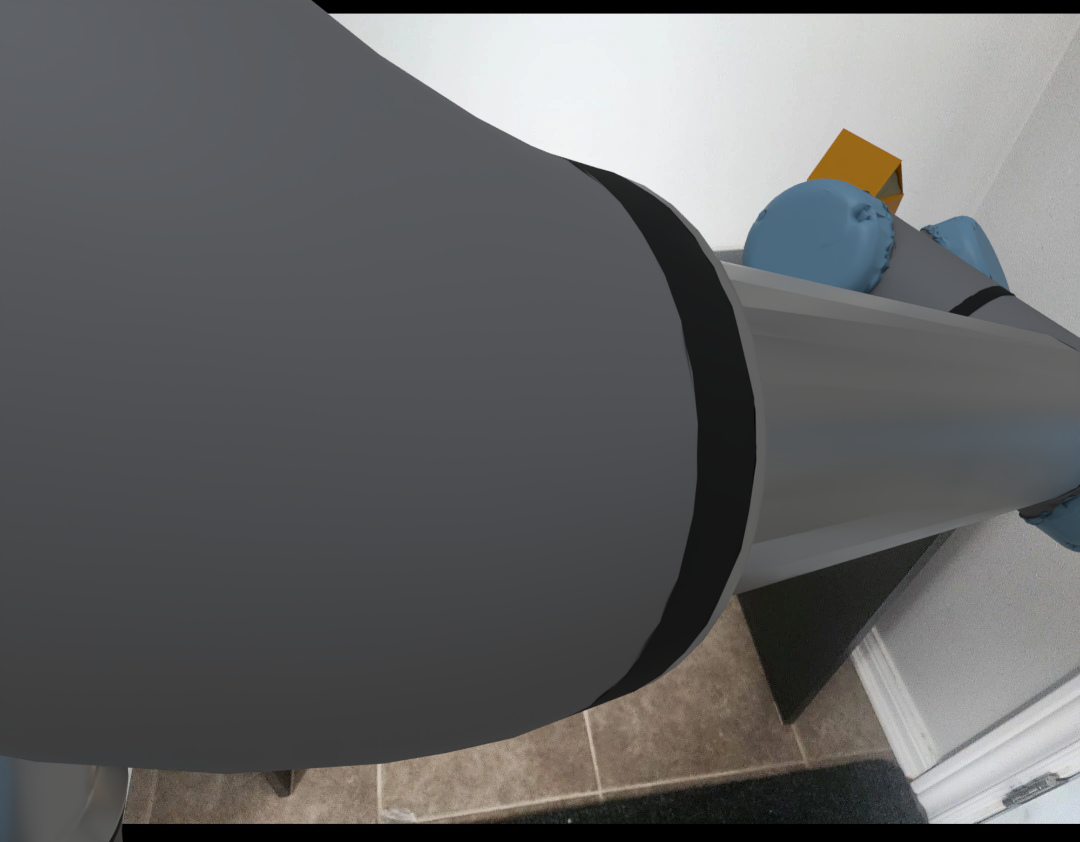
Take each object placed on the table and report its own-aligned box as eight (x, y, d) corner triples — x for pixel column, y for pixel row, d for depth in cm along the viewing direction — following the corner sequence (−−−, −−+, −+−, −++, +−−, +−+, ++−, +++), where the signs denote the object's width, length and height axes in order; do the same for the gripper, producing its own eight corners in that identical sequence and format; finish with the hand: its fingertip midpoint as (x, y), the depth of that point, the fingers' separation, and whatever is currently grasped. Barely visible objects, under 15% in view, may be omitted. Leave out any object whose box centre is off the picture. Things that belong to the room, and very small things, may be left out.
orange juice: (813, 255, 105) (863, 119, 90) (862, 288, 101) (924, 151, 86) (774, 273, 102) (820, 136, 87) (823, 309, 98) (880, 170, 83)
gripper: (786, 522, 49) (554, 579, 62) (799, 289, 65) (612, 375, 78) (723, 453, 45) (492, 529, 59) (753, 226, 61) (566, 327, 75)
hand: (560, 441), depth 69 cm, fingers open, 13 cm apart
